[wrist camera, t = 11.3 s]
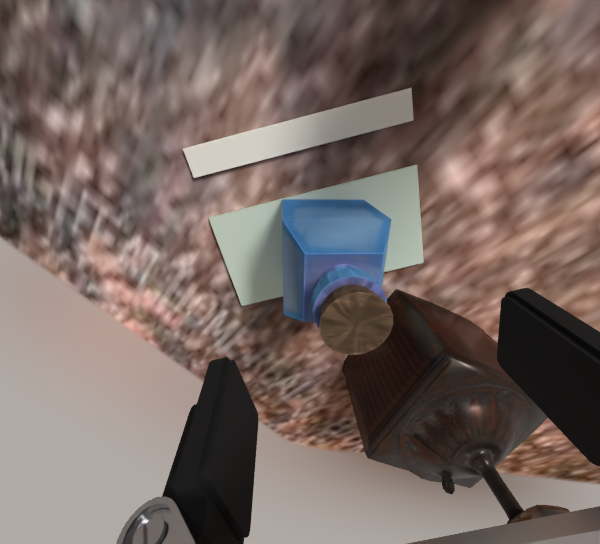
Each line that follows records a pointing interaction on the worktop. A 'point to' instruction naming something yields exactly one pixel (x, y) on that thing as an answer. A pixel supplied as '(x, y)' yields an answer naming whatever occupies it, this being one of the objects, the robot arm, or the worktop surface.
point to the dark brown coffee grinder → (441, 402)
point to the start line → (301, 133)
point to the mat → (268, 216)
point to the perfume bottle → (337, 270)
